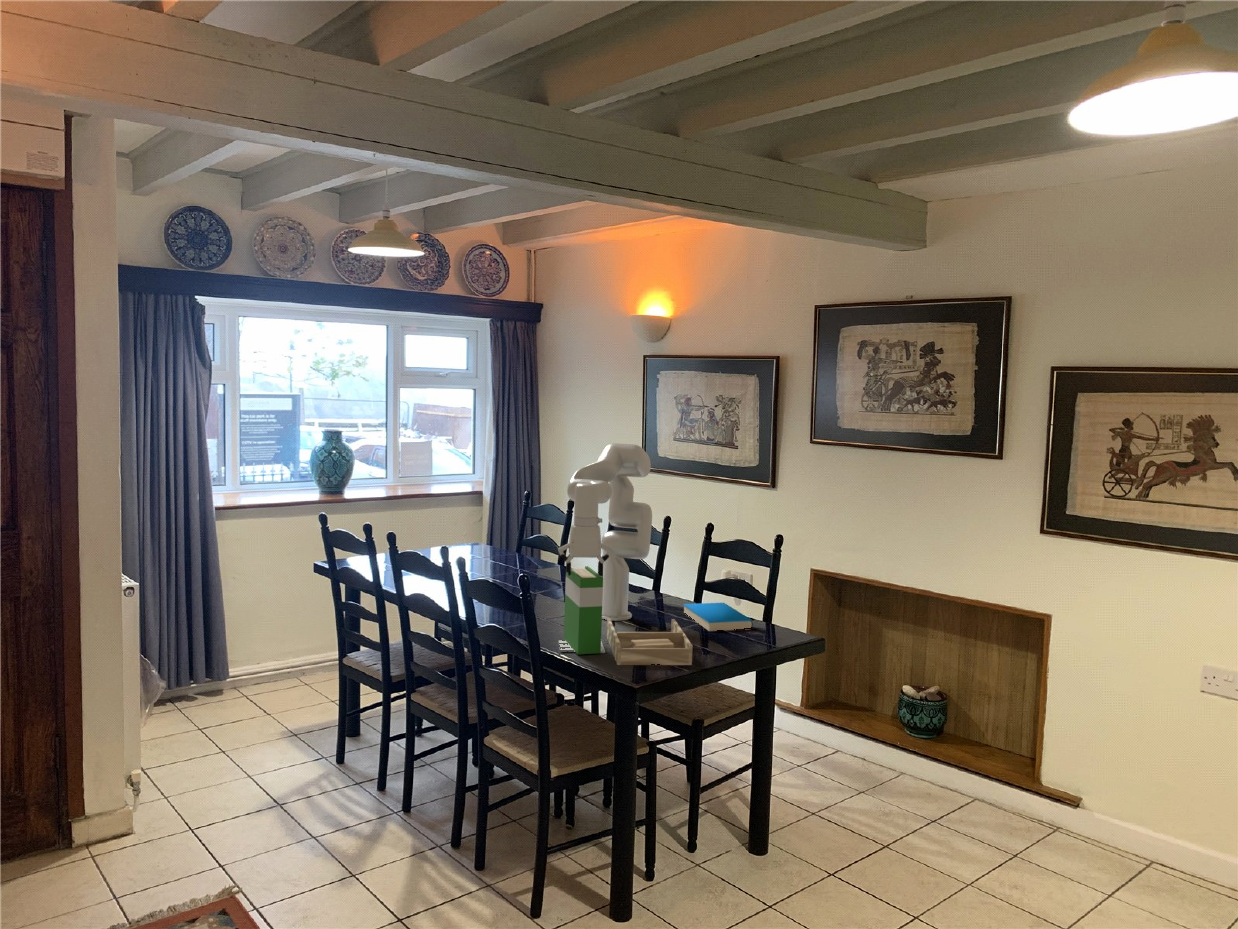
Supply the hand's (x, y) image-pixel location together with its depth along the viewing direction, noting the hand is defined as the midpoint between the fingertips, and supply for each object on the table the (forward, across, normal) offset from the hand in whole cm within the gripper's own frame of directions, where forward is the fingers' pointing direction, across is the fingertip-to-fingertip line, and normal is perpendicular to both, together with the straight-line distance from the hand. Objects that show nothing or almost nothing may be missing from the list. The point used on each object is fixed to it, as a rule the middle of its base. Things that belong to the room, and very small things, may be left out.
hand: (584, 574), depth 289 cm
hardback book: (+23, 0, +1) cm, 23 cm away
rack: (+24, -21, +3) cm, 32 cm away
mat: (+24, 0, +1) cm, 24 cm away
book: (+25, -52, -32) cm, 66 cm away
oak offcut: (+21, -21, +13) cm, 32 cm away
